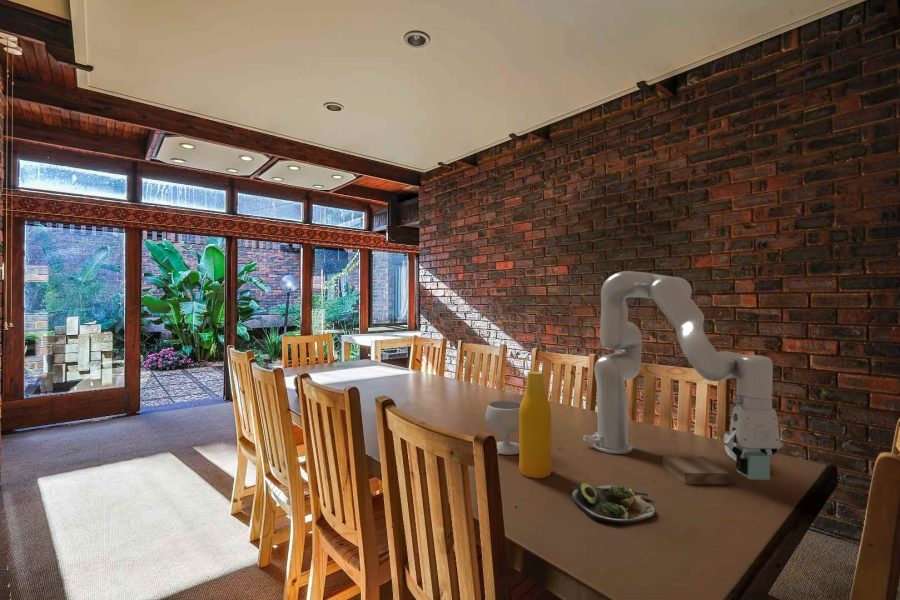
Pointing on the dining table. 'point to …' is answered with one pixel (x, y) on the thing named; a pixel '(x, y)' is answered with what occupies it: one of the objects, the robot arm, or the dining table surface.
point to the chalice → (504, 423)
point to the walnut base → (696, 470)
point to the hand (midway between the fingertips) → (752, 471)
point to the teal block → (757, 465)
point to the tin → (728, 450)
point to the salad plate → (611, 503)
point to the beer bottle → (535, 429)
